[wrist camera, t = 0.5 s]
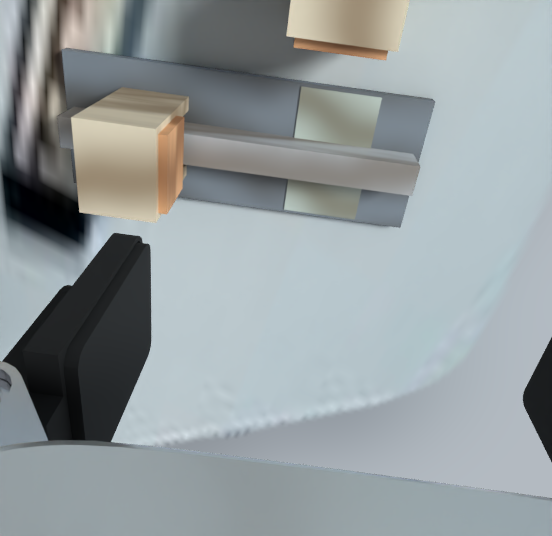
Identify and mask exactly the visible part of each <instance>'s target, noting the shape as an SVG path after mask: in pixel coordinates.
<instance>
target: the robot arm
mask: <svg viewBox="0 0 552 536" xmlns="http://www.w3.org/2000/svg"><path fill="white" fill-rule="evenodd" d="M150 346H151V257H150V245H149V244H144V243H142V238H141V237H140V236H133V235H126V234H119V233H114V234H112V236H111V237H110V238H109V239H108V241H107V242H106V243H105V245H104V246H103V247H102V248H101V250H100V251H99V252H98V254H97V255H96V256H95V257H94V259H93V260H92V261H91V263H90V264H89V265H88V266H87V268H86V269H85V270H84V272H83V273H82V274H81V275H80V277H79V278H78V279H77V281H76V282H75V283H74V284H73V286H70V285H67V286H64V287H63V288H61V289H60V290H59V292H58V293H57V294H56V295H55V297H54V298H53V299H52V300H51V302H50V303H49V304H48V305H47V307H46V308H45V309H44V310H43V311H42V313H41V314H40V315H39V316H38V318H37V319H36V320H35V321H34V323H33V324H32V325H31V326H30V328H29V329H28V330H27V331H26V333H25V334H24V335H23V336H22V337H21V339H20V340H19V341H18V342H17V344H16V345H15V346H14V347H13V349H12V350H11V351H10V352H9V354H8V355H7V356H6V357H5V359H4V360H3V361H2V362H1V361H0V536H552V498H547V497H539V496H532V495H525V494H518V493H510V492H504V491H496V490H489V489H482V488H474V487H467V486H459V485H451V484H445V483H437V482H430V481H422V480H415V479H407V478H399V477H392V476H385V475H377V474H370V473H362V472H354V471H347V470H340V469H331V468H324V467H316V466H308V465H301V464H293V463H285V462H277V461H270V460H262V459H254V458H246V457H239V456H230V455H222V454H215V453H207V452H198V451H191V450H183V449H175V448H167V447H157V446H146V445H135V444H124V443H114V442H111V440H112V438H113V436H114V433H115V431H116V429H117V426H118V424H119V422H120V419H121V417H122V415H123V412H124V410H125V408H126V406H127V403H128V401H129V399H130V396H131V394H132V392H133V389H134V387H135V385H136V383H137V380H138V378H139V376H140V373H141V371H142V369H143V366H144V364H145V362H146V359H147V357H148V355H149V351H150ZM523 403H524V407H525V409H526V411H527V413H528V415H529V417H530V419H531V421H532V423H533V425H534V427H535V429H536V431H537V433H538V435H539V437H540V439H541V441H542V443H543V445H544V447H545V450H546V451H547V454H548V456H549V458H550V459H551V462H552V338H551V340H550V342H549V344H548V346H547V348H546V349H545V351H544V353H543V355H542V357H541V359H540V361H539V363H538V365H537V367H536V369H535V371H534V373H533V375H532V377H531V379H530V381H529V383H528V384H527V387H526V388H525V391H524V394H523Z"/></svg>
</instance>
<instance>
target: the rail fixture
mask: <svg viewBox="0 0 552 536" xmlns="http://www.w3.org/2000/svg"><path fill="white" fill-rule="evenodd" d="M62 59H63V70H64V80H65V91H66V102H67V111H66V112H64V113H62V114H60V115H58V116H57V120H58V129H59V139H60V147H62V148H69V149H71V156H72V166H73V177H74V183H77V190H78V201H79V212H80V213H87V214H94V215H101V216H109V217H116V218H123V219H131V220H138V221H145V222H152V223H156V222H157V221H158V219H159V217H160V216H161V214H167V213H168V212H169V210H170V208H171V207H172V205H173V203H174V202H175V200H176V199H177V197H182V198H189V199H196V200H204V201H211V202H218V203H225V204H233V205H240V206H247V207H254V208H262V209H269V210H276V211H283V212H290V213H298V214H305V215H312V216H319V217H327V218H334V219H341V220H348V221H356V222H363V223H370V224H377V225H385V226H392V227H399V228H400V227H401V223H402V220H403V216H404V212H405V209H406V205H407V202H408V198H409V196H412V194H413V191H414V187H415V184H416V180H417V177H418V173H419V170H420V165H419V163H418V162H419V158H420V155H421V151H422V148H423V144H424V140H425V137H426V133H427V130H428V126H429V122H430V119H431V115H432V112H433V108H434V104H435V101H434V100H433V99H428V98H421V97H414V96H407V95H400V94H393V93H385V92H378V91H371V90H364V89H357V88H350V87H342V86H335V85H328V84H321V83H314V82H307V81H300V80H292V79H285V78H278V77H271V76H264V75H257V74H250V73H242V72H235V71H228V70H221V69H214V68H207V67H200V66H192V65H185V64H178V63H171V62H164V61H157V60H150V59H142V58H135V57H128V56H121V55H114V54H107V53H99V52H92V51H85V50H78V49H71V48H65V49H62Z"/></svg>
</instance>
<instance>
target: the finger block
mask: <svg viewBox="0 0 552 536" xmlns="http://www.w3.org/2000/svg"><path fill="white" fill-rule="evenodd" d="M409 1H410V0H291V2H290V10H289V19H288V27H287V35H286V36H288V37H295V40H294V48H301V49H308V50H316V51H323V52H330V53H337V54H344V55H351V56H358V57H365V58H373V59H380V60H386V58H387V53H388V51H395V52H398V49H399V45H400V41H401V36H402V32H403V27H404V23H405V19H406V14H407V10H408V6H409Z"/></svg>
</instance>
